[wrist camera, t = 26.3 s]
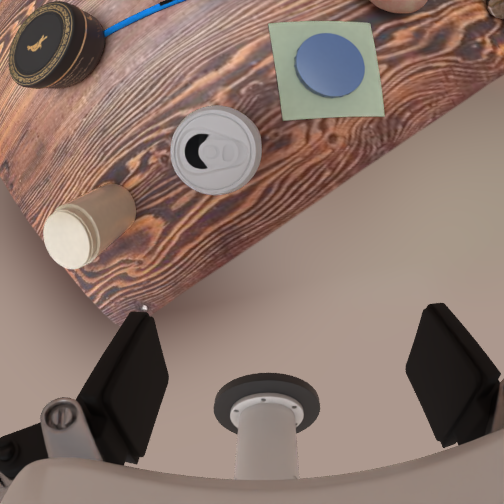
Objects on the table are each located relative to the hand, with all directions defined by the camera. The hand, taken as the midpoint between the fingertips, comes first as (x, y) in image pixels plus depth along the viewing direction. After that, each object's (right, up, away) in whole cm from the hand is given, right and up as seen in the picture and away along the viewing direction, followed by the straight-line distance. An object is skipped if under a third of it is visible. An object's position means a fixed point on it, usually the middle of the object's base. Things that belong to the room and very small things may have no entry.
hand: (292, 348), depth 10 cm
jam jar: (-18, +8, +23) cm, 30 cm away
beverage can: (-4, +14, +20) cm, 25 cm away
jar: (-22, +27, +15) cm, 38 cm away
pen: (-15, +29, +14) cm, 36 cm away
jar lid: (+6, +21, +15) cm, 27 cm away
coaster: (+6, +22, +16) cm, 28 cm away
